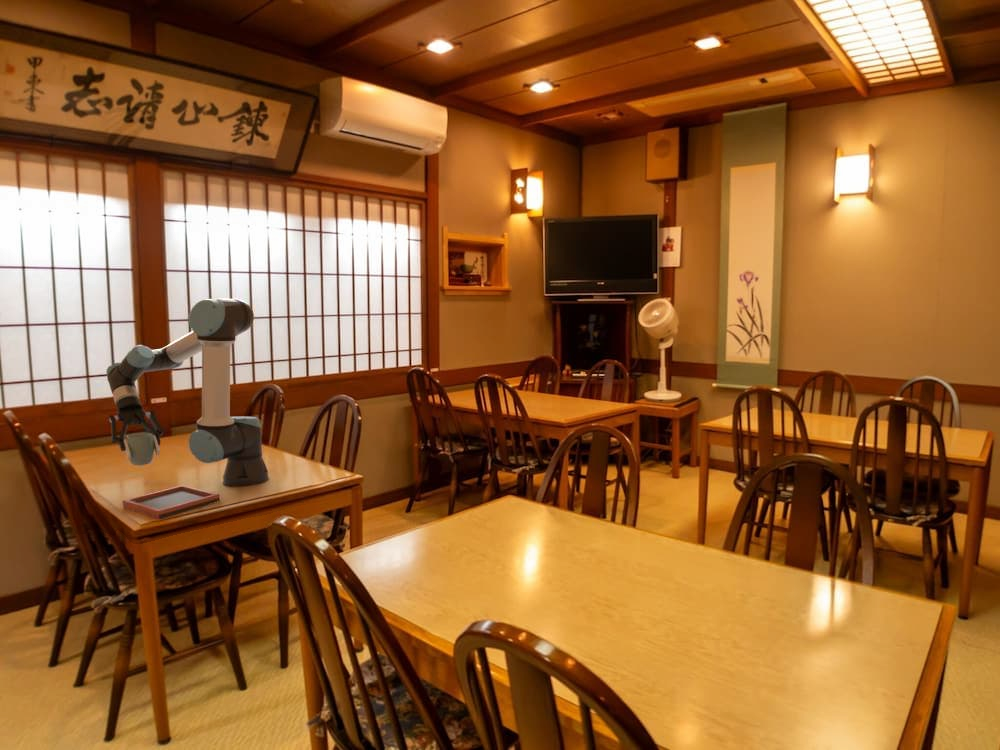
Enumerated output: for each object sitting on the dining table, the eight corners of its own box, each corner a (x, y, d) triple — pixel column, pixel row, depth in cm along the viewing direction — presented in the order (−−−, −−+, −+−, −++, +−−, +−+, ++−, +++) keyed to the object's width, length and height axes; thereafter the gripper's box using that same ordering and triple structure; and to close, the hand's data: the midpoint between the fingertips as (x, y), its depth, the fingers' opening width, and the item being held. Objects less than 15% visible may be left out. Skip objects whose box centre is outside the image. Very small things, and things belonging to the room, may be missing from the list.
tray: (219, 501, 213) (219, 494, 213) (158, 519, 196) (158, 511, 196) (183, 491, 224) (183, 484, 224) (123, 507, 207) (122, 500, 207)
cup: (160, 461, 225) (157, 432, 224) (145, 467, 217) (143, 437, 216) (138, 461, 226) (136, 432, 225) (123, 467, 218) (120, 437, 217)
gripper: (158, 405, 238) (175, 456, 228) (91, 412, 224) (106, 467, 214) (161, 391, 233) (179, 443, 223) (93, 398, 219) (109, 454, 209)
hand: (143, 455), depth 219 cm, fingers closed on cup, 8 cm apart
